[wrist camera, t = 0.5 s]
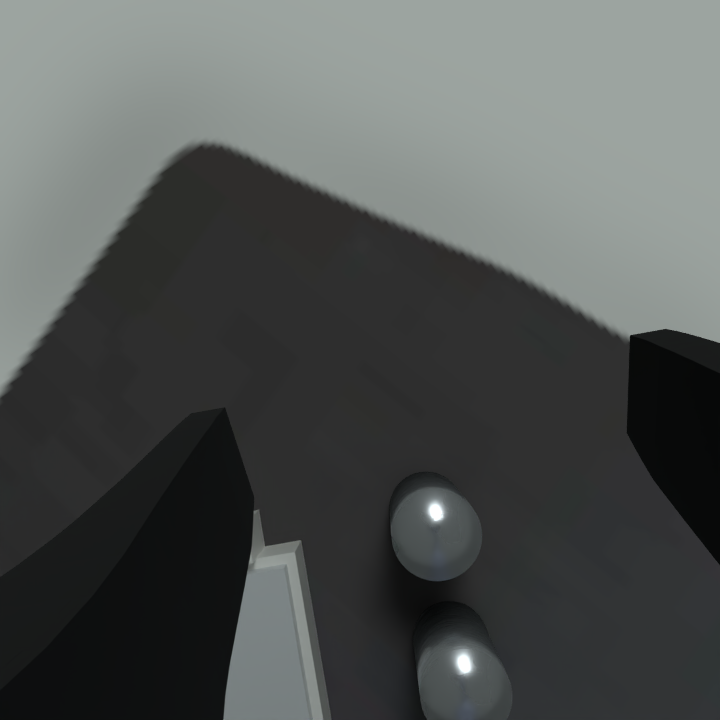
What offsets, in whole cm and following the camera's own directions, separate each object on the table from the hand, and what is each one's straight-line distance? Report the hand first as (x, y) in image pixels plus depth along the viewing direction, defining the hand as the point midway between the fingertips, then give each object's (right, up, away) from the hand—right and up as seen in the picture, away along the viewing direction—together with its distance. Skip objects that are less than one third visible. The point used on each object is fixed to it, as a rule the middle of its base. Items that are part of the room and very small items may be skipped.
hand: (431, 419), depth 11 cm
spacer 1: (+2, -7, +22) cm, 23 cm away
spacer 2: (+4, -14, +21) cm, 26 cm away
